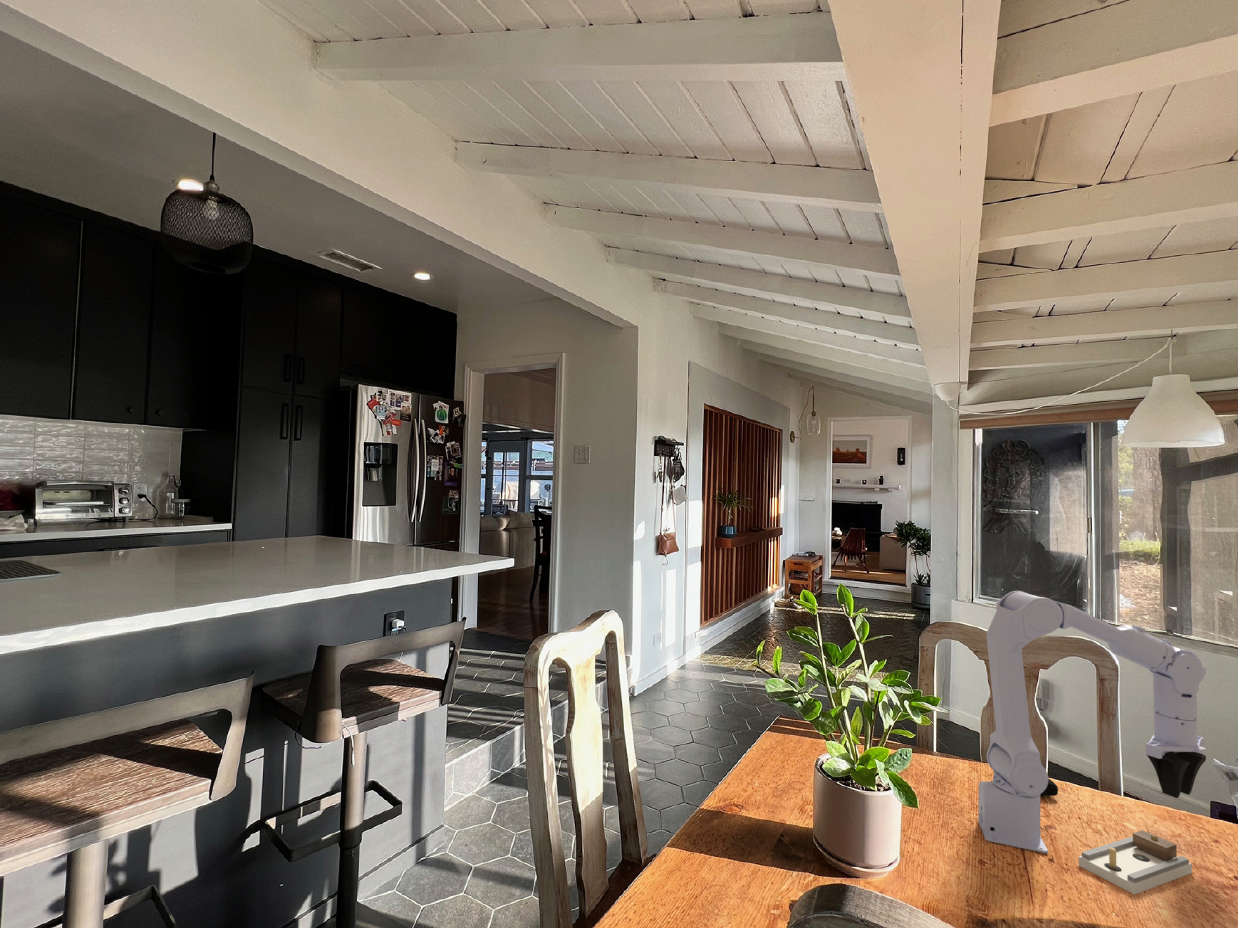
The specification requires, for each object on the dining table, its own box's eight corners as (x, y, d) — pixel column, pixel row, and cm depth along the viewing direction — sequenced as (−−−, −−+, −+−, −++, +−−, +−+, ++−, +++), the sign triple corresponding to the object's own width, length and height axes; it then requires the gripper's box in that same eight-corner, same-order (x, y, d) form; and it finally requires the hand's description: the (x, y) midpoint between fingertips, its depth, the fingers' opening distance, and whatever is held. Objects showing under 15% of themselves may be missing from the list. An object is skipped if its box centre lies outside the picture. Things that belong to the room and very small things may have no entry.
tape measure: (1060, 801, 125) (1059, 783, 125) (1024, 798, 126) (1024, 779, 126) (1041, 786, 132) (1041, 768, 132) (1007, 783, 133) (1007, 765, 133)
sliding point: (1166, 860, 101) (1166, 844, 101) (1133, 844, 106) (1132, 830, 106) (1176, 856, 102) (1176, 841, 103) (1142, 841, 107) (1142, 827, 107)
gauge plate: (1134, 894, 95) (1134, 865, 95) (1078, 865, 102) (1078, 838, 102) (1192, 872, 101) (1191, 845, 101) (1135, 846, 108) (1135, 821, 109)
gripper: (1180, 727, 102) (1182, 811, 101) (1225, 718, 107) (1227, 797, 106) (1131, 713, 108) (1132, 791, 107) (1176, 705, 114) (1177, 779, 113)
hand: (1176, 793), depth 107 cm, fingers open, 3 cm apart
